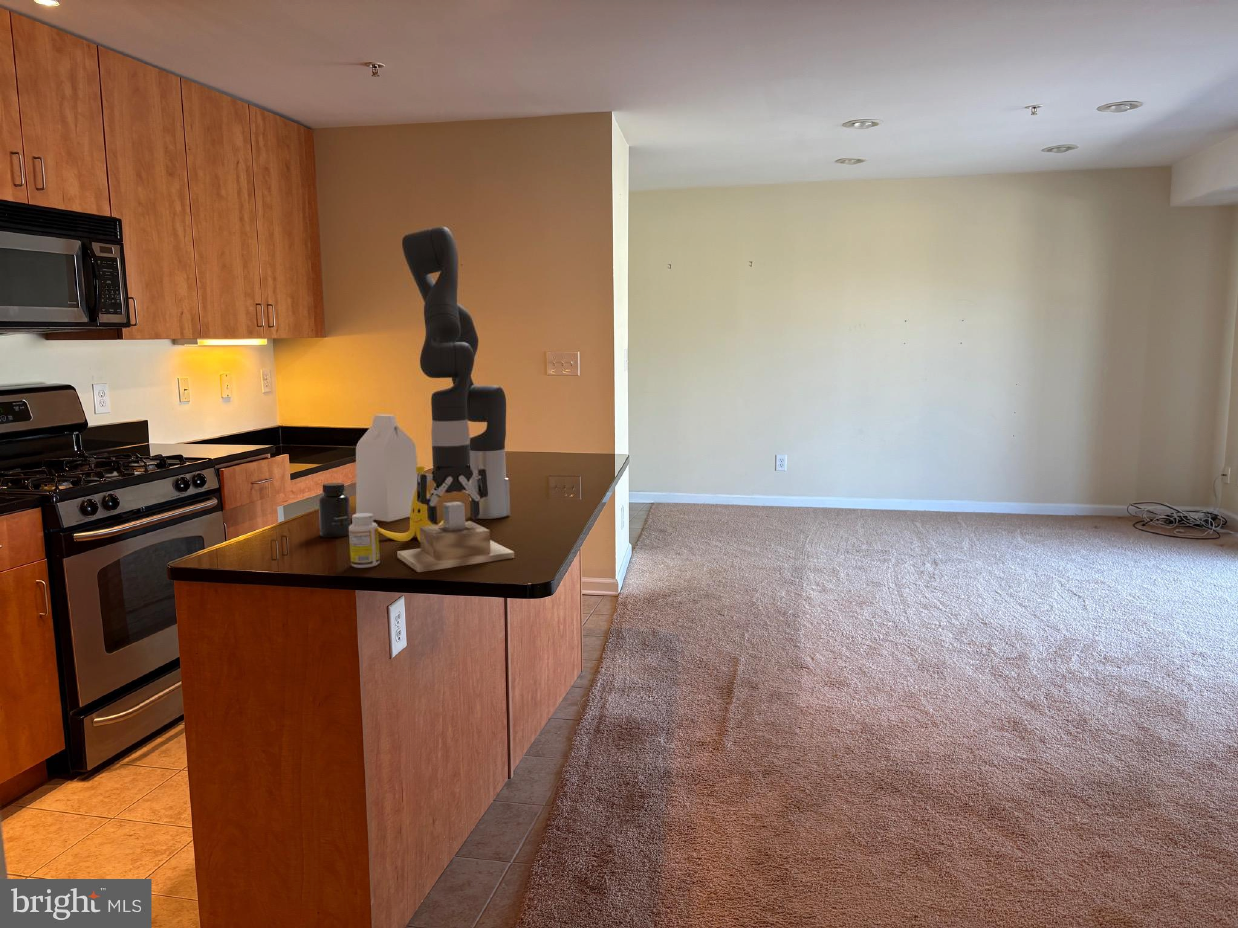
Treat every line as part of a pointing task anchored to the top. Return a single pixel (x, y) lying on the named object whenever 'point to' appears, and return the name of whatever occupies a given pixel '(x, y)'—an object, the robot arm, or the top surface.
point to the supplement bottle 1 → (334, 511)
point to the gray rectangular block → (454, 517)
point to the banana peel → (413, 518)
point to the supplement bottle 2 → (364, 541)
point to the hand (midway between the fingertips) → (454, 521)
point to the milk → (385, 471)
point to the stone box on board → (453, 548)
